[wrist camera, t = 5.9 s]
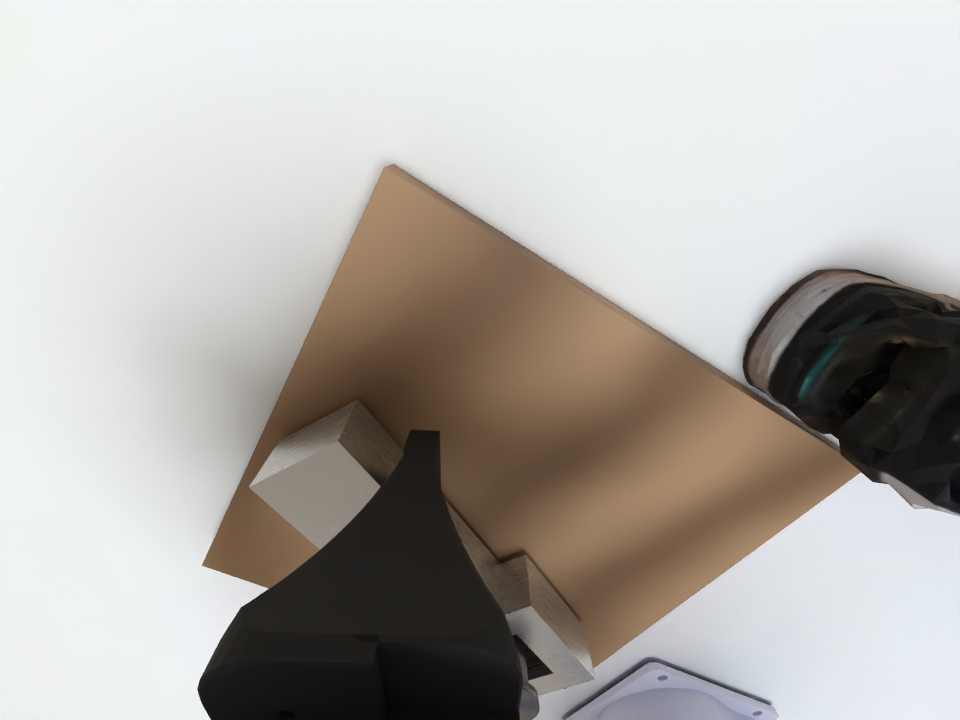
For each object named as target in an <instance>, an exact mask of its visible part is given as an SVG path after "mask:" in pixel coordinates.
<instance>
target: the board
mask: <svg viewBox="0 0 960 720" xmlns="http://www.w3.org/2000/svg"><path fill="white" fill-rule="evenodd" d="M357 399H358V400H359V401H360V402H361V403H362V405H363V406H364V407H365V408H366V409H367V410H368V412H369V413H370V414H371V415H372V416H373V417H374V418H375V420H376V421H377V422H378V423H379V424H380V425H381V427H382V428H383V429H384V430H385V431H386V432H387V433H388V435H389V436H390V437H391V438H392V439H393V440H394V442H395V443H396V444H397V445H398V446H399V447H400V449H401V450H402V451H403V452H404V446H405V443H406V440H407V437H408V435H409V433H410V431H411V430H433V431H440V458H441V489H442V492H443V495H444V498H445V501H446V502H447V503H448V504H449V505H450V506H451V507H452V509H453V510H454V511H455V512H456V513H457V514H458V516H459V517H460V518H461V519H462V520H463V521H464V522H465V524H466V525H467V526H468V527H469V528H470V529H471V531H472V532H473V533H474V534H475V535H476V536H477V537H478V539H479V540H480V541H481V542H482V543H483V544H484V546H485V547H486V548H487V549H488V550H489V551H490V553H491V554H492V555H493V556H494V557H495V558H496V559H497V561H498V562H499V563H500V564H502V563H504V562H507V561H510V560H512V559H515V558H517V557H520V556H523V555H525V554H526V555H527V557H528V558H529V559H530V560H531V562H532V563H533V564H534V565H535V566H536V568H537V569H538V570H539V571H540V573H541V574H542V575H543V576H544V578H545V579H546V580H547V581H548V583H549V584H550V585H551V586H552V587H553V589H554V590H555V591H556V592H557V594H558V595H559V596H560V597H561V599H562V600H563V601H564V602H565V604H566V605H567V606H568V607H569V608H570V610H571V611H572V612H573V613H574V615H575V616H576V617H577V618H578V620H579V621H580V622H581V623H582V625H583V626H584V628H585V633H586V638H587V643H588V647H589V652H590V657H591V662H592V667H593V668H594V667H596V666H597V665H598V664H600V663H601V662H603V661H604V660H605V659H607V658H608V657H609V656H611V655H612V654H613V653H615V652H616V651H618V650H619V649H620V648H622V647H623V646H624V645H626V644H627V643H628V642H630V641H631V640H633V639H634V638H635V637H637V636H638V635H639V634H641V633H642V632H643V631H645V630H646V629H648V628H649V627H650V626H652V625H653V624H654V623H656V622H657V621H658V620H660V619H661V618H663V617H664V616H665V615H667V614H668V613H669V612H671V611H672V610H673V609H675V608H676V607H678V606H679V605H680V604H682V603H683V602H684V601H686V600H687V599H688V598H690V597H691V596H693V595H694V594H695V593H697V592H698V591H699V590H701V589H702V588H704V587H705V586H706V585H708V584H709V583H710V582H712V581H713V580H714V579H716V578H717V577H719V576H720V575H721V574H723V573H724V572H725V571H727V570H728V569H729V568H731V567H732V566H734V565H735V564H736V563H738V562H739V561H740V560H742V559H743V558H744V557H746V556H747V555H749V554H750V553H751V552H753V551H754V550H755V549H757V548H758V547H759V546H761V545H762V544H764V543H765V542H766V541H768V540H769V539H770V538H772V537H773V536H774V535H776V534H777V533H779V532H780V531H781V530H783V529H784V528H785V527H787V526H788V525H789V524H791V523H792V522H794V521H795V520H796V519H798V518H799V517H800V516H802V515H803V514H804V513H806V512H807V511H809V510H810V509H811V508H813V507H814V506H815V505H817V504H818V503H819V502H821V501H822V500H824V499H825V498H826V497H828V496H829V495H830V494H832V493H833V492H834V491H836V490H837V489H839V488H840V487H841V486H843V485H844V484H845V483H847V482H848V481H849V480H851V479H852V478H854V477H855V476H856V475H858V474H859V473H860V471H859V470H858V469H857V468H856V467H855V466H853V465H852V464H851V463H850V462H849V461H847V460H846V459H845V458H844V457H843V456H841V453H840V446H838V445H837V444H835V443H833V442H832V441H830V440H829V439H827V438H825V437H824V436H822V435H821V434H819V433H818V432H816V431H814V430H813V429H811V428H810V427H808V426H807V425H805V424H803V423H802V422H800V421H799V420H797V419H795V418H794V417H792V416H791V415H789V414H788V413H786V412H784V411H783V410H781V409H780V408H778V407H776V406H775V405H773V404H772V403H770V402H769V401H767V400H765V399H764V398H762V397H761V396H759V395H757V394H756V393H754V392H753V391H751V390H750V389H748V388H746V387H745V386H743V385H742V384H740V383H738V382H737V381H735V380H734V379H732V378H731V377H729V376H727V375H726V374H724V373H723V372H721V371H720V370H718V369H716V368H715V367H713V366H712V365H710V364H708V363H707V362H705V361H704V360H702V359H701V358H699V357H697V356H696V355H694V354H693V353H691V352H689V351H688V350H686V349H685V348H683V347H682V346H680V345H678V344H677V343H675V342H674V341H672V340H670V339H669V338H667V337H666V336H664V335H663V334H661V333H659V332H658V331H656V330H655V329H653V328H652V327H650V326H648V325H647V324H645V323H644V322H642V321H640V320H639V319H637V318H636V317H634V316H633V315H631V314H629V313H628V312H626V311H625V310H623V309H621V308H620V307H618V306H617V305H615V304H614V303H612V302H610V301H609V300H607V299H606V298H604V297H602V296H601V295H599V294H598V293H596V292H595V291H593V290H591V289H590V288H588V287H587V286H585V285H583V284H582V283H580V282H579V281H577V280H576V279H574V278H572V277H571V276H569V275H568V274H566V273H565V272H563V271H561V270H560V269H558V268H557V267H555V266H553V265H552V264H550V263H549V262H547V261H546V260H544V259H542V258H541V257H539V256H538V255H536V254H534V253H533V252H531V251H530V250H528V249H527V248H525V247H523V246H522V245H520V244H519V243H517V242H515V241H514V240H512V239H511V238H509V237H508V236H506V235H504V234H503V233H501V232H500V231H498V230H496V229H495V228H493V227H492V226H490V225H489V224H487V223H485V222H484V221H482V220H481V219H479V218H478V217H476V216H474V215H473V214H471V213H470V212H468V211H466V210H465V209H463V208H462V207H460V206H459V205H457V204H455V203H454V202H452V201H451V200H449V199H447V198H446V197H444V196H443V195H441V194H440V193H438V192H436V191H435V190H433V189H432V188H430V187H428V186H427V185H425V184H424V183H422V182H421V181H419V180H417V179H416V178H414V177H413V176H411V175H409V174H408V173H406V172H405V171H403V170H402V169H400V168H398V167H397V166H395V165H394V164H393V165H391V166H388V167H385V168H384V169H383V172H382V174H381V176H380V178H379V180H378V183H377V185H376V187H375V189H374V191H373V193H372V196H371V198H370V200H369V202H368V204H367V207H366V209H365V211H364V213H363V215H362V217H361V220H360V222H359V224H358V226H357V228H356V231H355V233H354V235H353V237H352V239H351V241H350V244H349V246H348V248H347V250H346V252H345V255H344V257H343V259H342V261H341V263H340V265H339V268H338V270H337V272H336V274H335V276H334V278H333V281H332V283H331V285H330V287H329V289H328V292H327V294H326V296H325V298H324V300H323V302H322V305H321V307H320V309H319V311H318V313H317V316H316V318H315V320H314V322H313V324H312V326H311V329H310V331H309V333H308V335H307V337H306V340H305V342H304V344H303V346H302V348H301V350H300V353H299V355H298V357H297V359H296V361H295V364H294V366H293V368H292V370H291V372H290V374H289V377H288V379H287V381H286V383H285V385H284V388H283V390H282V392H281V394H280V396H279V398H278V401H277V403H276V405H275V407H274V409H273V412H272V414H271V416H270V418H269V420H268V422H267V425H266V427H265V429H264V431H263V433H262V436H261V438H260V440H259V442H258V444H257V446H256V449H255V451H254V453H253V455H252V457H251V460H250V462H249V464H248V466H247V468H246V470H245V473H244V475H243V477H242V479H241V481H240V484H239V486H238V488H237V490H236V492H235V494H234V497H233V499H232V501H231V503H230V505H229V508H228V510H227V512H226V514H225V516H224V518H223V521H222V523H221V525H220V527H219V529H218V532H217V534H216V536H215V538H214V540H213V542H212V545H211V547H210V549H209V551H208V553H207V555H206V558H205V560H204V562H203V564H202V566H205V567H208V568H211V569H214V570H217V571H220V572H222V573H225V574H228V575H231V576H234V577H237V578H240V579H243V580H246V581H249V582H252V583H255V584H258V585H261V586H264V587H267V588H269V589H270V588H271V587H272V586H274V585H275V584H277V583H278V582H280V581H281V580H282V579H284V578H285V577H287V576H288V575H289V574H290V573H292V572H293V571H294V570H295V569H297V568H298V567H299V566H300V565H302V564H303V563H304V562H305V561H307V560H308V559H309V558H310V557H312V556H313V555H314V554H315V553H317V552H318V551H319V550H320V549H319V548H317V547H316V546H315V545H314V544H313V543H312V542H311V541H309V540H308V539H307V538H306V537H305V536H304V535H303V534H301V533H300V532H299V531H298V530H297V529H296V528H295V527H293V526H292V525H291V524H290V523H289V522H288V521H287V520H285V519H284V518H283V517H282V516H281V515H280V514H279V513H278V512H276V511H275V510H274V509H273V508H272V507H271V506H270V505H268V504H267V503H266V502H265V501H264V500H263V499H262V498H260V497H259V496H258V495H257V494H256V493H255V492H254V491H252V490H251V489H250V488H249V486H250V485H251V483H252V482H253V480H254V479H255V477H256V476H257V474H258V473H259V471H260V469H261V468H262V466H263V465H264V463H265V462H266V460H267V459H268V457H269V456H270V454H271V453H272V451H273V450H274V448H275V447H276V445H277V444H278V442H279V441H281V440H283V439H285V438H286V437H288V436H290V435H292V434H294V433H296V432H298V431H299V430H301V429H303V428H305V427H307V426H309V425H310V424H312V423H314V422H316V421H318V420H320V419H322V418H323V417H325V416H327V415H329V414H331V413H333V412H335V411H336V410H338V409H340V408H342V407H344V406H346V405H348V404H349V403H351V402H353V401H355V400H357ZM566 688H567V687H566ZM566 688H564V689H566Z"/></svg>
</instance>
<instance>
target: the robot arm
mask: <svg viewBox="0 0 960 720" xmlns="http://www.w3.org/2000/svg"><path fill="white" fill-rule="evenodd" d="M522 689H523V674H522V668H521V663H520V658H519V655H518V651H517V648H516V645H515V642H514V639H513V636H512V633H511V630H510V628H509V625H508V622H507V620H506V617H505V614H504V612H503V610H502V609H501V607H500V606H499V604H498V603H497V601H496V600H495V598H494V597H493V595H492V594H491V592H490V591H489V589H488V588H487V586H486V585H485V583H484V581H483V580H482V578H481V576H480V575H479V573H478V571H477V570H476V568H475V566H474V564H473V562H472V560H471V558H470V556H469V555H468V553H467V551H466V549H465V547H464V545H463V543H462V541H461V539H460V537H459V534H458V532H457V530H456V528H455V525H454V523H453V520H452V518H451V515H450V513H449V510H448V507H447V505H446V502H445V498H444V495H443V492H442V489H441V458H440V431H433V430H411V431H410V433H409V435H408V437H407V440H406V443H405V446H404V453H403V457H402V458H401V460H400V461H399V463H398V464H397V465H396V467H395V468H394V470H393V471H392V472H391V474H390V475H389V477H388V478H387V479H386V481H385V482H384V483H383V484H382V486H381V487H380V488H379V489H378V491H377V492H376V493H375V494H374V496H373V497H372V498H371V499H370V500H369V502H368V503H367V504H366V505H365V506H364V507H363V508H362V509H361V511H360V512H359V513H358V514H357V515H356V516H355V517H354V518H353V519H352V520H351V521H350V522H349V523H348V524H347V525H346V526H345V527H344V528H343V529H342V530H341V531H340V532H339V533H338V534H337V535H336V536H335V537H334V538H332V539H331V540H330V541H329V542H328V543H327V544H326V545H325V546H324V547H323V548H321V549H320V550H319V551H318V552H317V553H315V554H314V555H313V556H312V557H310V558H309V559H308V560H307V561H305V562H304V563H303V564H302V565H300V566H299V567H298V568H297V569H295V570H294V571H293V572H292V573H290V574H289V575H288V576H287V577H285V578H284V579H282V580H281V581H280V582H278V583H277V584H275V585H274V586H272V587H271V588H270V589H268V590H267V591H265V592H264V593H262V594H261V595H259V596H258V597H256V598H255V599H253V600H252V601H250V602H249V603H247V604H246V605H244V606H243V607H241V608H240V610H239V612H238V613H237V615H236V616H235V618H234V619H233V621H232V623H231V624H230V625H229V627H228V628H227V630H226V632H225V633H224V635H223V637H222V638H221V640H220V642H219V644H218V646H217V648H216V650H215V652H214V653H213V655H212V657H211V659H210V661H209V663H208V665H207V667H206V669H205V671H204V673H203V675H202V677H201V679H200V681H199V685H198V689H197V690H198V693H199V696H200V700H201V702H202V705H203V706H204V708H205V710H206V712H207V713H208V715H209V717H210V719H211V720H520V713H519V709H520V702H521V695H522ZM777 718H778V714H777V712H776V710H775V708H774V707H772V706H770V705H767V704H764V703H762V702H759V701H757V700H754V699H751V698H749V697H746V696H744V695H741V694H738V693H736V692H733V691H731V690H728V689H725V688H723V687H720V686H718V685H715V684H712V683H710V682H707V681H705V680H702V679H699V678H697V677H694V676H691V675H689V674H686V673H684V672H681V671H678V670H676V669H673V668H671V667H668V666H665V665H663V664H660V663H657V662H651V663H648V664H646V665H644V666H643V667H641V668H640V669H638V670H637V671H635V672H634V673H632V674H631V675H630V676H628V677H627V678H625V679H624V680H622V681H621V682H619V683H618V684H616V685H615V686H613V687H612V688H611V689H609V690H608V691H606V692H605V693H603V694H602V695H600V696H599V697H597V698H596V699H594V700H593V701H592V702H590V703H589V704H587V705H586V706H584V707H583V708H581V709H580V710H578V711H577V712H575V713H574V714H573V715H571V716H570V717H568V718H567V719H565V720H776V719H777Z"/></svg>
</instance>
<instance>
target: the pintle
mask: <svg viewBox="0 0 960 720" xmlns="http://www.w3.org/2000/svg"><path fill="white" fill-rule="evenodd" d="M512 636H513V639H514V642H515V645H516V648H517V651H518V655H519V658H520V663H521V668H522V674H523V689H522V695H521V702H520V709H519V713H520V720H532V719H533V718H535V717H536V716H537V714H538V712H539V700H538V693H537V690H536V689H535V687H534V686H532V685H531V684H530V683H528V671H527V659H526V647H525V642H524V641H523V640H522V639H521V638H520V637H519V636H518V635H517V634H515V635H512Z"/></svg>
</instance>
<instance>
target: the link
mask: <svg viewBox="0 0 960 720" xmlns="http://www.w3.org/2000/svg"><path fill="white" fill-rule="evenodd" d="M403 453H404V452H403V451H402V450H401V449H400V447H399V446H398V445H397V444H396V443H395V442H394V440H393V439H392V438H391V437H390V436H389V435H388V433H387V432H386V431H385V430H384V429H383V428H382V427H381V425H380V424H379V423H378V422H377V421H376V420H375V418H374V417H373V416H372V415H371V414H370V413H369V412H368V410H367V409H366V408H365V407H364V406H363V405H362V403H361V402H360V401H359V400H358V399H357V400H355V401H353V402H351V403H349V404H348V405H346V406H344V407H342V408H340V409H338V410H336V411H335V412H333V413H331V414H329V415H327V416H325V417H323V418H322V419H320V420H318V421H316V422H314V423H312V424H310V425H309V426H307V427H305V428H303V429H301V430H299V431H298V432H296V433H294V434H292V435H290V436H288V437H286V438H285V439H283V440H281V441H279V442H278V444H277V445H276V447H275V448H274V450H273V451H272V453H271V454H270V456H269V457H268V459H267V460H266V462H265V463H264V465H263V466H262V468H261V469H260V471H259V473H258V474H257V476H256V477H255V479H254V480H253V482H252V483H251V485H250V486H249V488H250V489H251V490H252V491H254V492H255V493H256V494H257V495H258V496H259V497H260V498H262V499H263V500H264V501H265V502H266V503H267V504H268V505H270V506H271V507H272V508H273V509H274V510H275V511H276V512H278V513H279V514H280V515H281V516H282V517H283V518H284V519H285V520H287V521H288V522H289V523H290V524H291V525H292V526H293V527H295V528H296V529H297V530H298V531H299V532H300V533H301V534H303V535H304V536H305V537H306V538H307V539H308V540H309V541H311V542H312V543H313V544H314V545H315V546H316V547H317V548H319V549H321V548H323V547H324V546H325V545H326V544H327V543H328V542H329V541H330V540H331V539H332V538H334V537H335V536H336V535H337V534H338V533H339V532H340V531H341V530H342V529H343V528H344V527H345V526H346V525H347V524H348V523H349V522H350V521H351V520H352V519H353V518H354V517H355V516H356V515H357V514H358V513H359V512H360V511H361V509H362V508H363V507H364V506H365V505H366V504H367V503H368V502H369V500H370V499H371V498H372V497H373V496H374V494H375V493H376V492H377V491H378V489H379V488H380V487H381V486H382V484H383V483H384V482H385V481H386V479H387V478H388V477H389V475H390V474H391V472H392V471H393V470H394V468H395V467H396V465H397V464H398V463H399V461H400V460H401V458H402V457H403ZM445 502H446V501H445ZM446 505H447V507H448V510H449V513H450V515H451V518H452V520H453V523H454V525H455V528H456V530H457V532H458V534H459V537H460V539H461V541H462V543H463V545H464V547H465V549H466V551H467V553H468V555H469V556H470V558H471V560H472V562H473V564H474V566H475V568H476V570H477V571H478V573H479V575H480V576H481V578H482V580H483V581H484V583H485V585H486V586H487V588H488V589H489V591H490V592H491V594H492V595H493V597H494V598H495V600H496V601H497V603H498V604H499V606H500V607H501V609H502V610H503V612H504V614H505V617H506V620H507V622H508V625H509V628H510V630H511V633H512V635H515V634H517V635H518V636H519V637H520V638H521V639H522V640H523V641H524V642H525V647H526V659H527V671H528V683H530V684H531V685H532V686H534V687H535V689H536V690H537V693H538V695H542V694H545V693H549V692H552V691H556V690H559V689H563V688H566V687H570V686H573V685H577V684H580V683H584V682H587V681H591V680H594V679H595V676H594V672H593V667H592V662H591V657H590V652H589V647H588V643H587V638H586V633H585V628H584V626H583V625H582V623H581V622H580V621H579V620H578V618H577V617H576V616H575V615H574V613H573V612H572V611H571V610H570V608H569V607H568V606H567V605H566V604H565V602H564V601H563V600H562V599H561V597H560V596H559V595H558V594H557V592H556V591H555V590H554V589H553V587H552V586H551V585H550V584H549V583H548V581H547V580H546V579H545V578H544V576H543V575H542V574H541V573H540V571H539V570H538V569H537V568H536V566H535V565H534V564H533V563H532V562H531V560H530V559H529V558H528V557H527V555H526V554H525V555H523V556H520V557H517V558H515V559H512V560H510V561H507V562H504V563H502V564H500V563H499V562H498V561H497V559H496V558H495V557H494V556H493V555H492V554H491V553H490V551H489V550H488V549H487V548H486V547H485V546H484V544H483V543H482V542H481V541H480V540H479V539H478V537H477V536H476V535H475V534H474V533H473V532H472V531H471V529H470V528H469V527H468V526H467V525H466V524H465V522H464V521H463V520H462V519H461V518H460V517H459V516H458V514H457V513H456V512H455V511H454V510H453V509H452V507H451V506H450V505H449V504H448V503H447V502H446Z"/></svg>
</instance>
